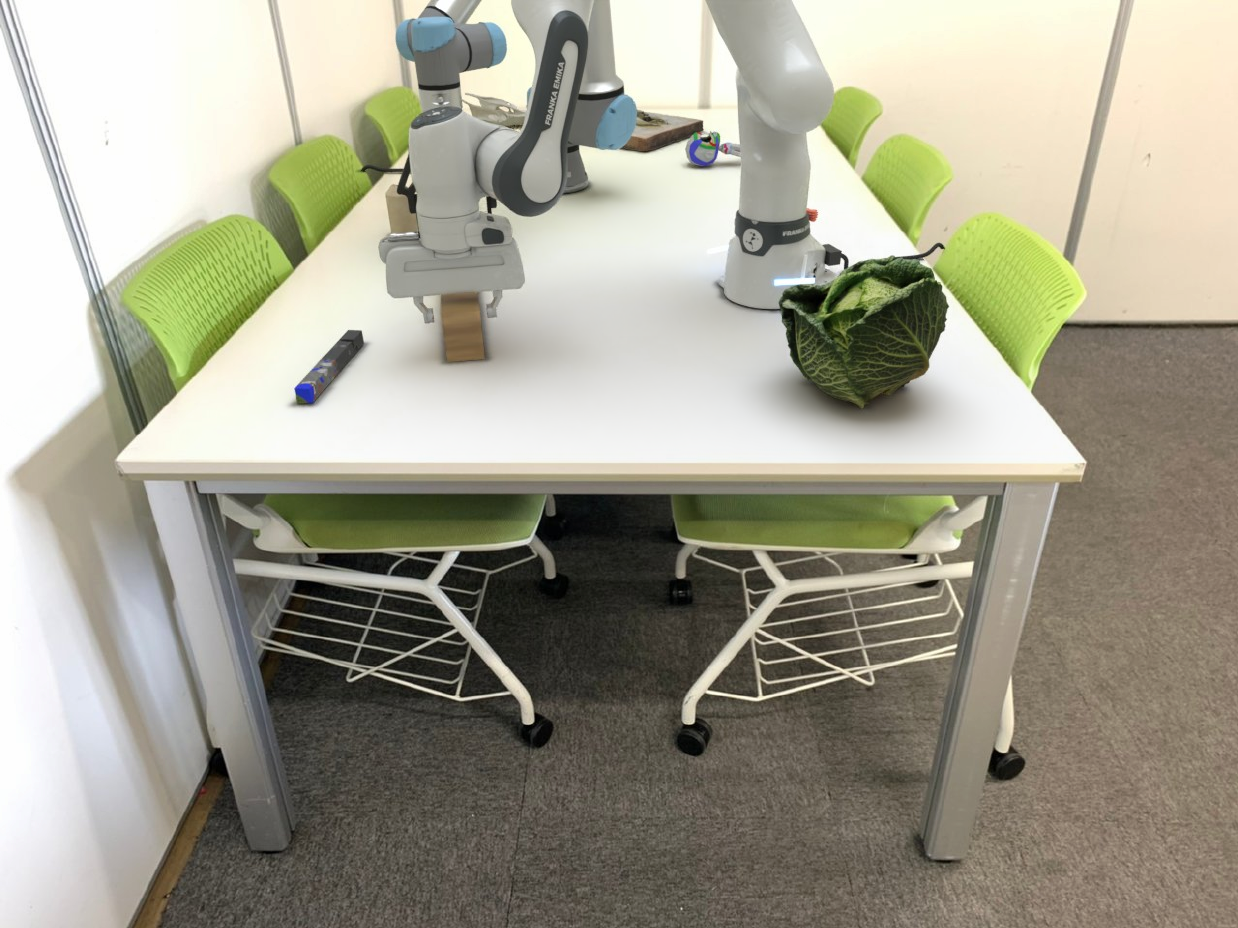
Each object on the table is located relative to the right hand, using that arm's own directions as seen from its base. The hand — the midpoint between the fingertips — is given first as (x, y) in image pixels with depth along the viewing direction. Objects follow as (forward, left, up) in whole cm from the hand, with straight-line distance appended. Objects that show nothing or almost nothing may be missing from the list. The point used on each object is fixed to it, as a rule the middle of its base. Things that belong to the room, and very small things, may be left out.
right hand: (461, 319), depth 136 cm
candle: (-31, -50, -5) cm, 59 cm away
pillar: (+18, -9, -5) cm, 20 cm away
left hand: (-31, -35, 0) cm, 46 cm away
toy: (-121, -24, -5) cm, 123 cm away
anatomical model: (-118, -108, -5) cm, 160 cm away
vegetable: (-23, +54, -5) cm, 59 cm away
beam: (-15, -17, -5) cm, 24 cm away
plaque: (-130, -67, -5) cm, 146 cm away
